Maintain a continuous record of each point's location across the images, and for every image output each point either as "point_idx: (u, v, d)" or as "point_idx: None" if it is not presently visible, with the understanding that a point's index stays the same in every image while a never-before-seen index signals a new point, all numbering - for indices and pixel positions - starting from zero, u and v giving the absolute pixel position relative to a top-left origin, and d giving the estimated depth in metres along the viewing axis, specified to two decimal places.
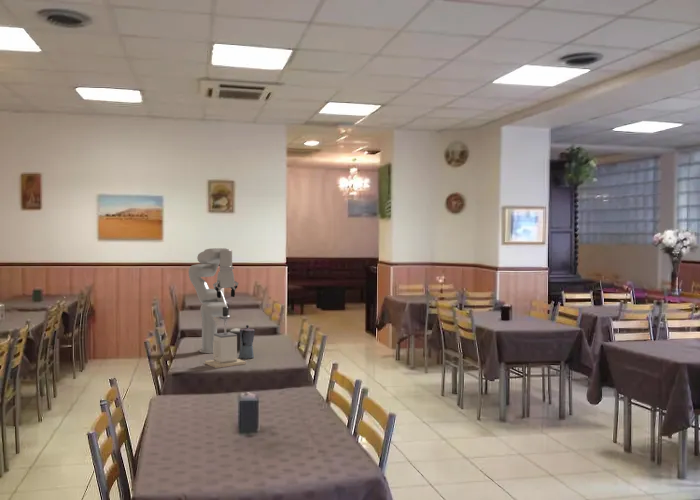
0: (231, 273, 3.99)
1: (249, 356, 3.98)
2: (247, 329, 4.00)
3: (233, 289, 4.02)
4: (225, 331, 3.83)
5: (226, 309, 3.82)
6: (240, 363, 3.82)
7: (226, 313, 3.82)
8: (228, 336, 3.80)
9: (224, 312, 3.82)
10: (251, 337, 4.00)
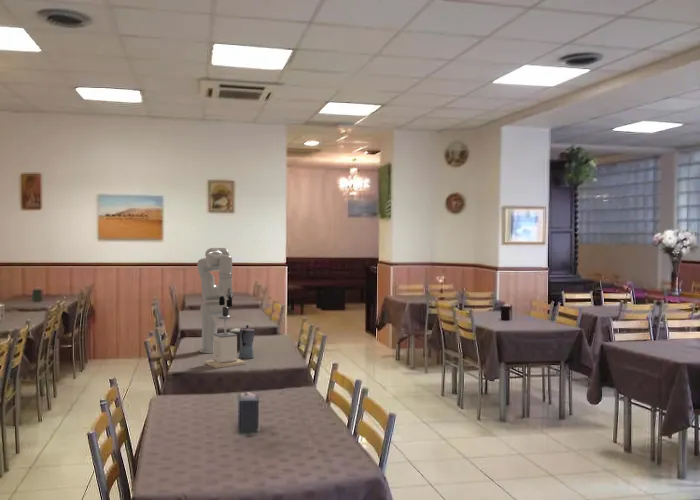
0: None
1: (249, 356, 3.98)
2: (247, 329, 4.00)
3: (223, 297, 3.87)
4: (225, 331, 3.83)
5: (226, 309, 3.82)
6: (240, 363, 3.82)
7: (226, 313, 3.82)
8: (228, 336, 3.80)
9: (224, 312, 3.82)
10: (251, 337, 4.00)
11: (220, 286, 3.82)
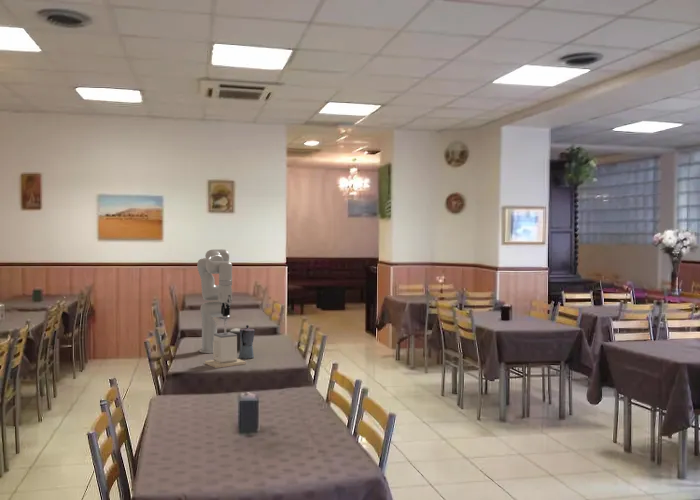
0: None
1: (249, 356, 3.98)
2: (247, 329, 4.00)
3: (225, 305, 3.85)
4: (225, 331, 3.83)
5: None
6: (240, 363, 3.82)
7: None
8: (228, 336, 3.80)
9: None
10: (251, 337, 4.00)
11: (220, 293, 3.82)
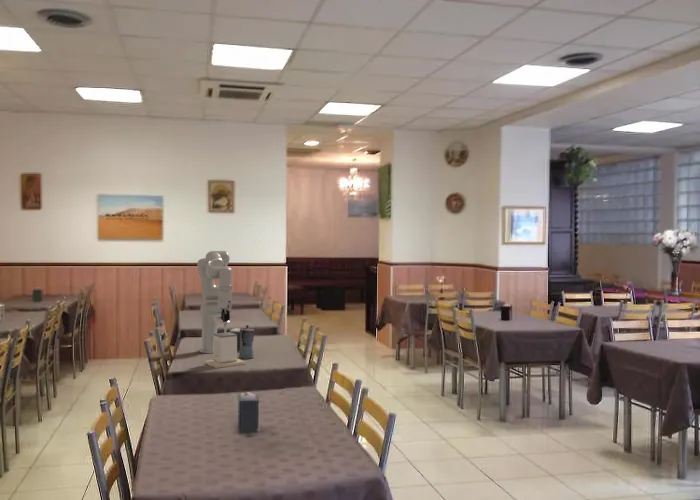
0: None
1: (249, 356, 3.98)
2: (247, 329, 4.00)
3: (225, 311, 3.86)
4: None
5: None
6: (240, 363, 3.82)
7: None
8: (228, 336, 3.80)
9: None
10: (251, 337, 4.00)
11: (220, 298, 3.82)
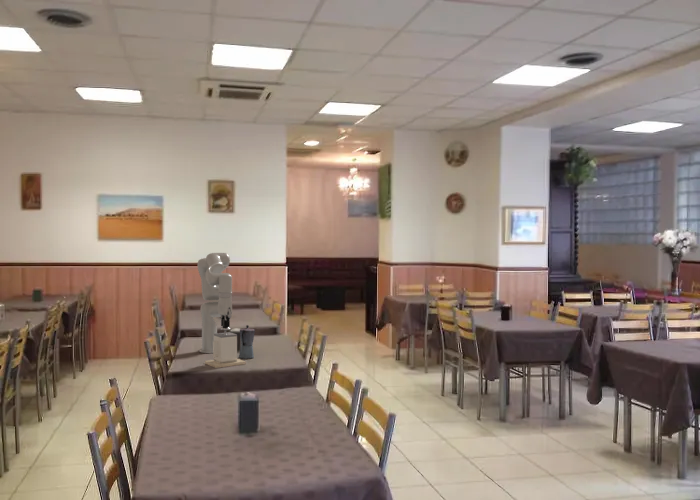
0: None
1: (249, 356, 3.98)
2: (247, 329, 4.00)
3: (225, 317, 3.86)
4: None
5: None
6: (240, 363, 3.82)
7: None
8: (228, 336, 3.80)
9: None
10: (251, 337, 4.00)
11: (220, 305, 3.82)
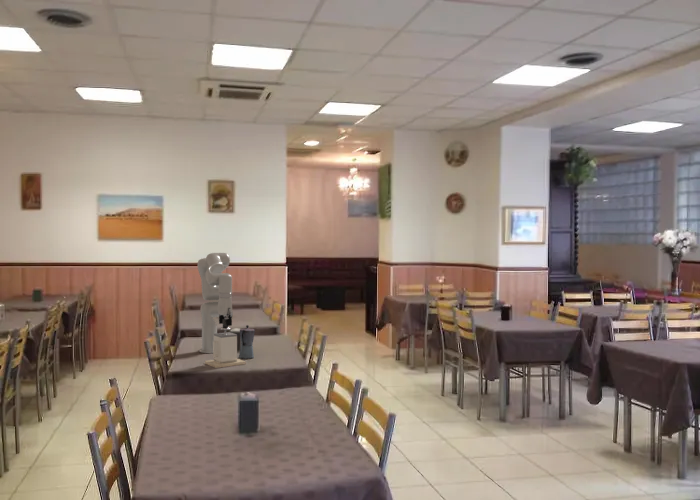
0: None
1: (249, 356, 3.98)
2: (247, 329, 4.00)
3: (223, 315, 3.88)
4: None
5: None
6: (240, 363, 3.82)
7: None
8: (228, 336, 3.80)
9: (224, 324, 3.82)
10: (251, 337, 4.00)
11: (220, 305, 3.82)
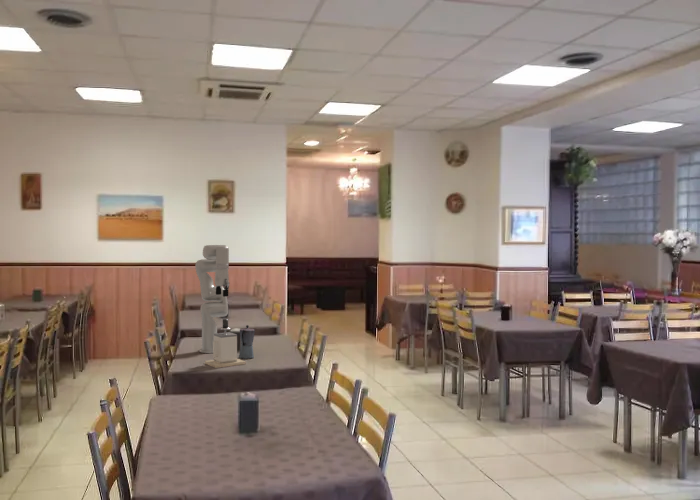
0: None
1: (249, 356, 3.98)
2: (247, 329, 4.00)
3: (219, 286, 3.95)
4: None
5: (226, 321, 3.82)
6: (240, 363, 3.82)
7: (226, 325, 3.83)
8: (228, 336, 3.80)
9: (224, 324, 3.82)
10: (251, 337, 4.00)
11: (217, 276, 3.89)
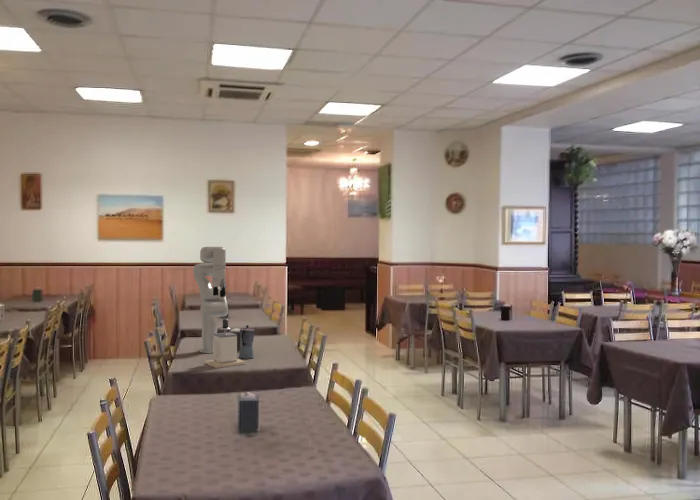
0: None
1: (249, 356, 3.98)
2: (247, 329, 4.00)
3: (217, 287, 4.01)
4: None
5: (226, 321, 3.82)
6: (240, 363, 3.82)
7: (226, 325, 3.83)
8: (228, 336, 3.80)
9: (224, 324, 3.82)
10: (251, 337, 4.00)
11: (214, 277, 3.96)
